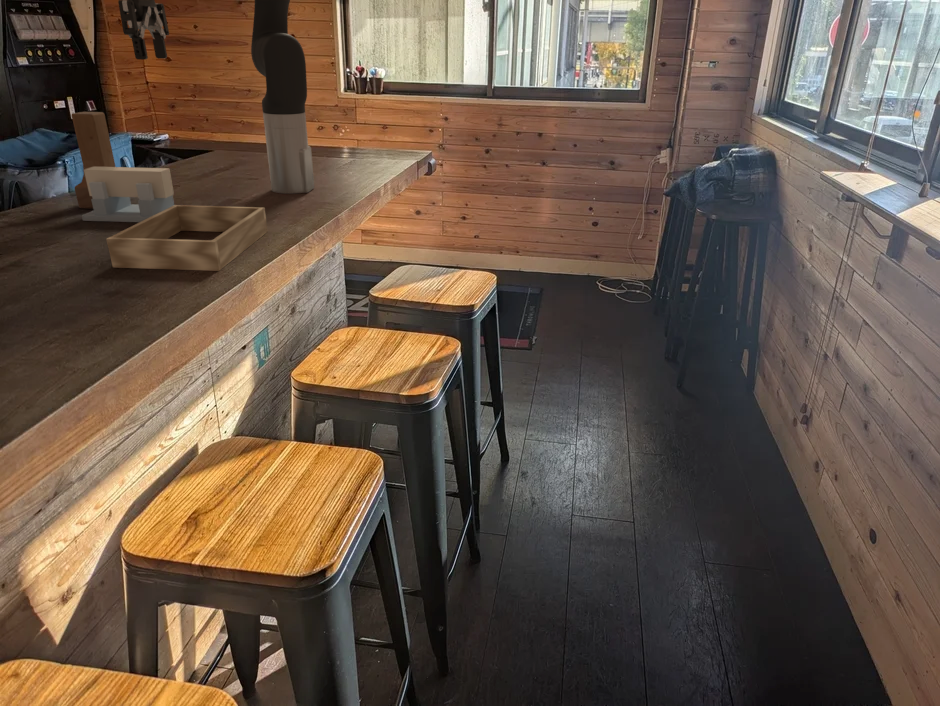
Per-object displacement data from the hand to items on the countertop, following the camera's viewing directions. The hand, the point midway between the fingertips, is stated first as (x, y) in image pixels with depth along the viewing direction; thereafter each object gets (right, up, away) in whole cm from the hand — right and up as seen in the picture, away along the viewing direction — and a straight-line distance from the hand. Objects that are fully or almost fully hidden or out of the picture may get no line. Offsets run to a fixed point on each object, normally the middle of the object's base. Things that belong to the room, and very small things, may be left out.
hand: (152, 58), depth 134 cm
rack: (0, -33, -5) cm, 34 cm away
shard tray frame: (+20, -43, -25) cm, 53 cm away
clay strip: (0, -30, -7) cm, 31 cm away
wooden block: (-12, -30, +3) cm, 32 cm away
